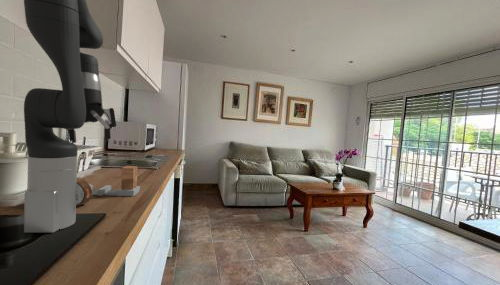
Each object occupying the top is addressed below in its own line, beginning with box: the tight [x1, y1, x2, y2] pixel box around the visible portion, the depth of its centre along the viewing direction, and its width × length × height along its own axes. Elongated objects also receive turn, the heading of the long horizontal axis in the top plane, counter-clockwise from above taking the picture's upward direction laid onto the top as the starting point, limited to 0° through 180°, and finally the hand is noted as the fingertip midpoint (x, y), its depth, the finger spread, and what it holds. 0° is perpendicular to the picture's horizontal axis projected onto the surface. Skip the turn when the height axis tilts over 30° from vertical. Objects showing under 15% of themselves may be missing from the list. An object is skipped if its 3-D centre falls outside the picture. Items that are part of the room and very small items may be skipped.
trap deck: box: [89, 184, 141, 197], centre depth 87 cm, size 7×22×2 cm, turn 99°
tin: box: [76, 177, 93, 207], centre depth 73 cm, size 15×3×8 cm, turn 84°
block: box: [120, 165, 138, 190], centre depth 88 cm, size 4×4×8 cm
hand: (91, 141), depth 73 cm, fingers open, 8 cm apart
